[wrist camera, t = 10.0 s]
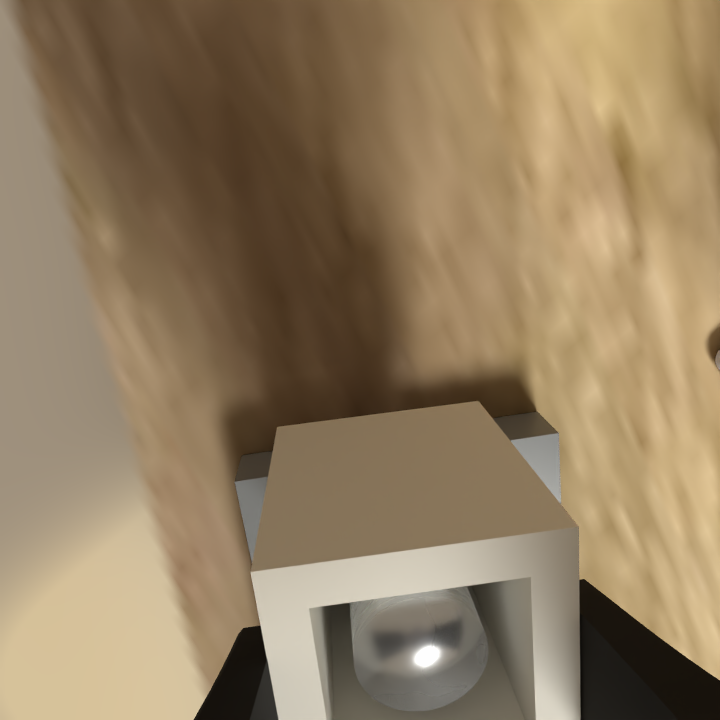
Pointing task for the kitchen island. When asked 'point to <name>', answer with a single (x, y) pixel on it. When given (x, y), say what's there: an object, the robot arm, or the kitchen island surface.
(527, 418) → the tray
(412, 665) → the cylinder
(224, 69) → the kitchen island surface
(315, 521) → the cream block
